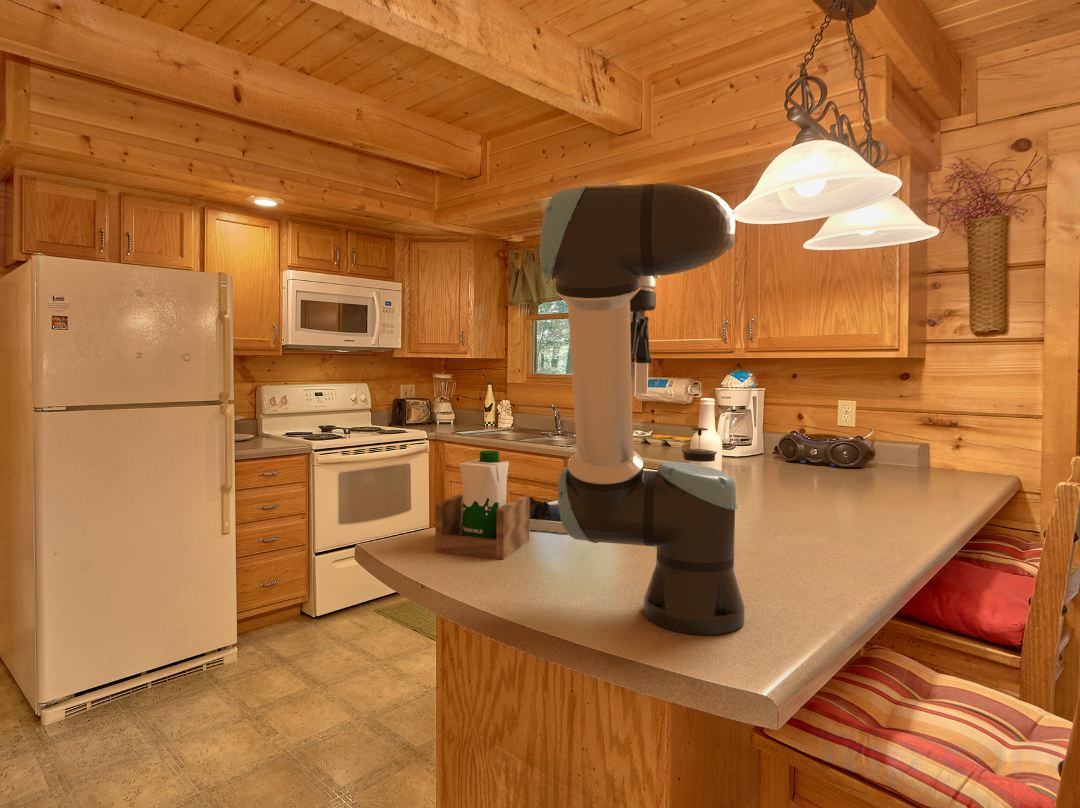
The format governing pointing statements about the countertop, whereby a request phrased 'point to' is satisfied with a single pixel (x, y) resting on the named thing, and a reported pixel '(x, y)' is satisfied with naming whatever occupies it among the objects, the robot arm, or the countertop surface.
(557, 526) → the can cradle
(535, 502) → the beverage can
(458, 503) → the wooden holder
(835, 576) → the countertop surface
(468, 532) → the milk carton
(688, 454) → the french press
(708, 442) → the alcohol
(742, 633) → the countertop surface
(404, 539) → the countertop surface
